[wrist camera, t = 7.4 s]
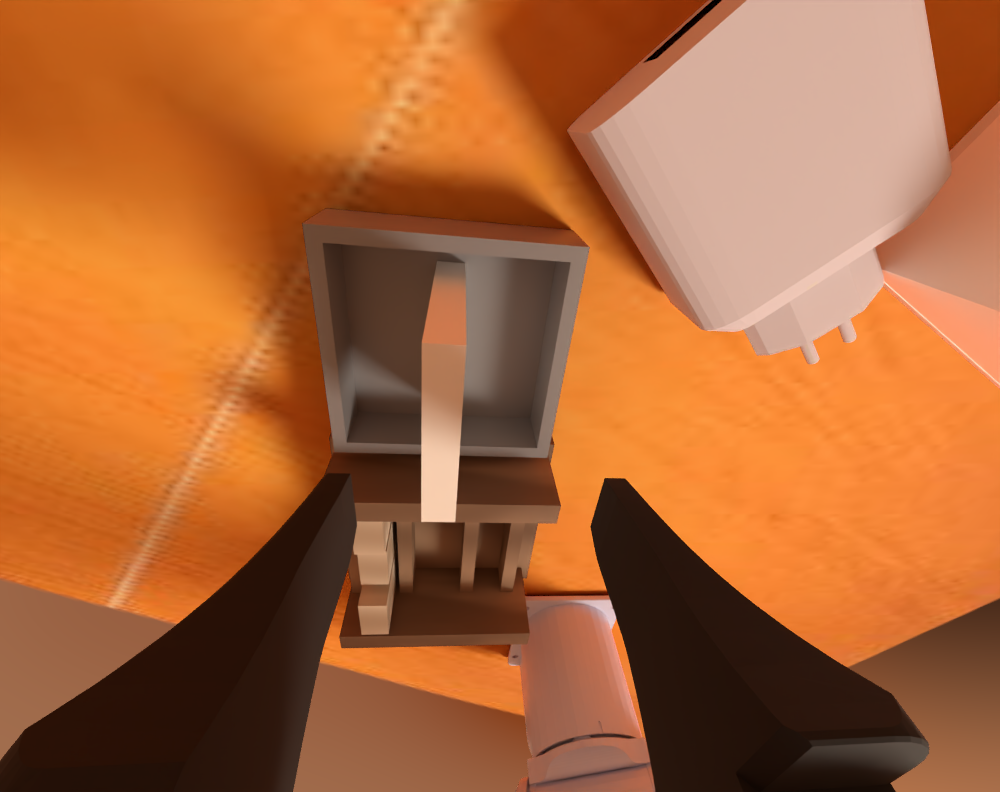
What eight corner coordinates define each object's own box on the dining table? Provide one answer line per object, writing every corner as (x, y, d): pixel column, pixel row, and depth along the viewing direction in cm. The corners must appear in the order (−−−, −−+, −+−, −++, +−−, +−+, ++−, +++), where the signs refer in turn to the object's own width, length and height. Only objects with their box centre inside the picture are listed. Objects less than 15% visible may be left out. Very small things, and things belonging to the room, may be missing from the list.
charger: (715, 380, 24) (561, 129, 17) (891, 272, 21) (794, -81, 14) (766, 433, 20) (592, 132, 13) (991, 308, 17) (926, -161, 10)
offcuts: (398, 566, 28) (388, 634, 25) (375, 565, 28) (361, 634, 25) (393, 459, 24) (380, 524, 20) (365, 458, 23) (346, 524, 20)
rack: (524, 568, 31) (535, 643, 26) (352, 568, 30) (332, 648, 25) (551, 435, 24) (571, 505, 20) (332, 428, 23) (302, 501, 19)
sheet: (457, 400, 22) (455, 522, 15) (434, 399, 22) (421, 521, 15) (465, 263, 18) (466, 345, 12) (437, 260, 18) (421, 343, 12)
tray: (538, 422, 24) (547, 457, 21) (348, 415, 23) (334, 452, 20) (572, 229, 18) (589, 247, 16) (325, 208, 17) (302, 223, 15)
